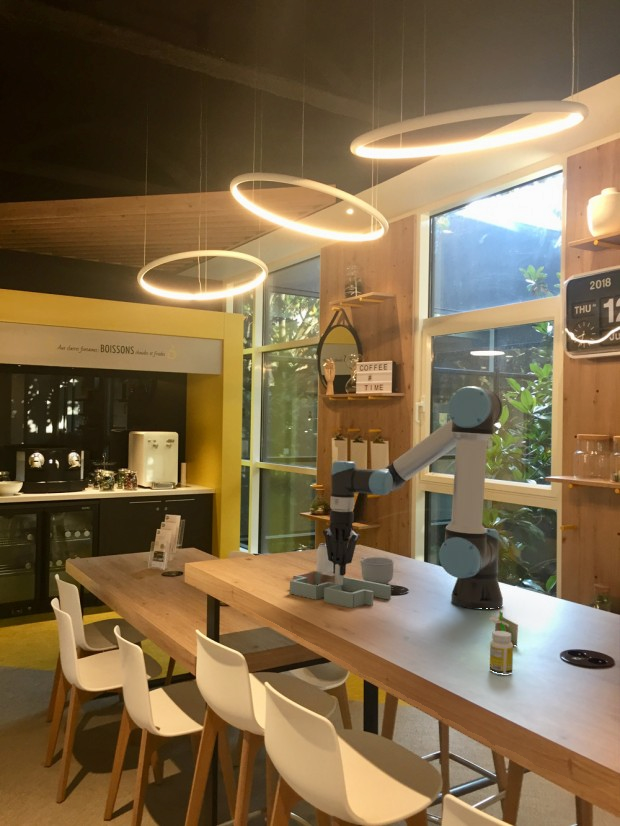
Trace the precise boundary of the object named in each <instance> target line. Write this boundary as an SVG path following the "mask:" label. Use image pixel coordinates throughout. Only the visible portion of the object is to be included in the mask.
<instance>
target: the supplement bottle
mask: <svg viewBox="0 0 620 826" xmlns="http://www.w3.org/2000/svg"><path fill="white" fill-rule="evenodd" d="M491 639H492V640H491V641H490V643H489V650H490V652H489V671H490V670H492V671H494V672H497V673H503V674H509V673H512V674H513V665H514V664H513V663H514V662H513V660H514V659H513V658H514V657H513V656H514V655H513V654H514V647H513V644H512V643H511V634H510V633H509V632H505V631H495V630H494V631H492V635H491Z"/></svg>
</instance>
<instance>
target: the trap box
mask: <svg viewBox="0 0 620 826" xmlns="http://www.w3.org/2000/svg"><path fill="white" fill-rule="evenodd" d="M322 573H323V572H318V571H316V570H312V571H308V572H307V571H306V572H302V573H299V574H295V575H292V580H289V595H292V594H294V596H297V595H298V596H297V597H301V596H303V597H302V598H305V597H307V599H310V598H311V600H314V599H315V600H314V601H317V600H319V599H323V602H324V603H327V604H333V605H337V606H342V607H346V608H349V609H353V608H354V609H355V608H356V607H359V606H363V605H366V604H367V606H371V605H372V606H374V596H375V597H376V598H378V599H379V598H380V599H384V600H388V599H389V600H391V599H392V585H388V584H386V585H384V584H379V583H374V582H369V581H365V580H364V579H359V578H352V577H347V576H344V580H343V585H342V590H341V584H336V583H331V582H326V583H322V584H320V574H322ZM317 584H318V585H317ZM323 597H324V598H323ZM316 599H317V600H316Z"/></svg>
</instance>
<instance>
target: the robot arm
mask: <svg viewBox="0 0 620 826" xmlns="http://www.w3.org/2000/svg"><path fill="white" fill-rule="evenodd" d="M503 408H504V407H503V403H502V400H501V397H499V395H498V394H497V393H495V392H494V391H492V390H490V389H487V388H483V387H480V386H475V385H472V386H464V387H461V388H459V389H458V390H456V391H455V392H454V393H453V394H452V396H451V397H450V399H449V401H448V406H447V412H448V415H449V417H450V420H449V421H447V422H446V423H444V424H443V425H441V426H440V427H438V428H437V429H436V430H434V431H433V432H432V433H430V434H429V435H428V436H426V437H425V438H424V439H423V440H421V441H420V442H418V443H417V444H416V445H414V446H413V447H411V448H410V449H408V450H407V451H406V452H405V453H403V454H402V455H400V456H398V458H396V459H394V461H393V462H391V463H390V464H388V465H387V466H385V467H384V468H375V469H369V468H358V467H357V465H356V462H355V461H349V460H336V461H335V460H334V462H332V466H331V474H330V476H331V481H330V484H331V485H330V487H331V488H330V505H329V506H330V509H331V510H330V511H329V523H330V524H329V527H328V528H327V529H323V530H322V533H323V536H324V539H325V544H326V547H327V554H328V560H329V561H331V562H333V564H334V565H333V573H334V574H335V583H336V584H341V585H343V580H344V577H345V575H346V571H347V569H346V567H347V565H348V564H349V565H350V564H352V562H353V558H354V553H355V550H356V545H357V542H358V540H359V539H360V534H359V533H356V532H355V531H354V527H353V523H354V518H355V517H354V513H355V512H354V511H353V510H354V509H355V493H356V494H357V493H359V494H369V495H375V496H386V495H389V494H390V492H396V491H398V490H400V489H401V488H403V486H405V485H404V484H405V483H406V482H407V481H408V480H410V479H412V478H413V477H414V476H416V475H417V474H419V473H420V472H421V471H423V470H425V469H426V468H427V467H428V466H430V465H431V464H433V463H435V461H437V460H439V458H441V457H443V456H444V455H446V454H447V453H448V452H449V451H451V450H452V449H454V448H455V458H454V474H453V475H454V476H453V488H452V489H453V490H452V491H453V492H452V503H451V504H452V505H451V506H452V507H451V520H450V521H451V522H450V523H448V524H447V525H446V527H445V535H444V542H443V543H442V544H441V546H440V547H439V551H438V559H439V562H440V565H441V567H442V568H443V570H444V571H445V572H446V573H447V574H448V575H450V576H452V577H454V578H456V581H455V583H454V586H453V590H452V592H451V597H450V598H451V600H450V601H451V602H452V604H454V605H456V606H458V605H460V606H459V607H462V606H464V607H463V608H466V607H469V608H468V609H472V608H482V609H481V610H483V609H486V608H488V609H490V608H498V607H501V606H502V605H504V604H503V603H504V600H503V599H504V598H503V593H502V592H501V587H500V585H499V579H498V572H499V571H498V569H499V551H500V550H499V549H500V548H499V546H500V545H499V544H500V535H499V531H498V530H497V529H494V528H485V526H484V525H483V516H484V515H483V512H484V499H485V497H484V495H485V481H486V480H485V479H486V467H487V465H486V464H487V449H488V440H490V439H491V438H492V437H493V436H494V426H495V425H496V424H497V423H498V422H499V420H500V419H501V416H502V414H503ZM502 607H503V606H502ZM502 607H501V608H502ZM498 609H499V608H498ZM490 610H491V609H490Z"/></svg>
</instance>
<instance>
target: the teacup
mask: <svg viewBox="0 0 620 826" xmlns="http://www.w3.org/2000/svg"><path fill="white" fill-rule="evenodd" d="M394 562H395V561H394V560H393V559H391V558H388V557H380V556H374V557H373V556H372V557H366V556H365V557H362V558H361V559H360V566H361V577H362V580H364V581H369V582H374V583H379V584H384V585H388V584H389V583H390V582H391V581H392V580H393V577H394V564H395V563H394Z"/></svg>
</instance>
